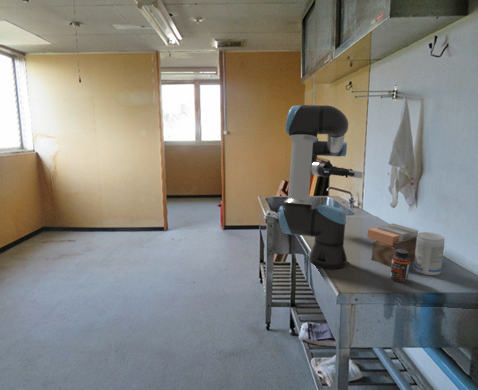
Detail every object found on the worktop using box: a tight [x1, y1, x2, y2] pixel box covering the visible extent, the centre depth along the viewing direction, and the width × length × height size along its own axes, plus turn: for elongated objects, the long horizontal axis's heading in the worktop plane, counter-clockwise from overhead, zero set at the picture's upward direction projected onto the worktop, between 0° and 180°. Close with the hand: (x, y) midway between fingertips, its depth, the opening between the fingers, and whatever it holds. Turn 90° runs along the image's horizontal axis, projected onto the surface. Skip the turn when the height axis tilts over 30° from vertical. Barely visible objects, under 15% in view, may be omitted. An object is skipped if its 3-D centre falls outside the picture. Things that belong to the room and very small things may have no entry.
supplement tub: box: [413, 231, 446, 276], centre depth 135 cm, size 10×10×15 cm
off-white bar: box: [387, 223, 419, 239], centre depth 153 cm, size 12×4×4 cm, turn 33°
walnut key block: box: [371, 237, 417, 268], centre depth 148 cm, size 10×21×10 cm, turn 123°
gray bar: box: [377, 225, 409, 242], centre depth 149 cm, size 12×4×4 cm, turn 33°
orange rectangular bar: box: [366, 227, 399, 246], centre depth 146 cm, size 12×4×4 cm, turn 33°
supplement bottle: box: [389, 249, 410, 283], centre depth 127 cm, size 6×6×11 cm
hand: (361, 175), depth 156 cm, fingers closed
